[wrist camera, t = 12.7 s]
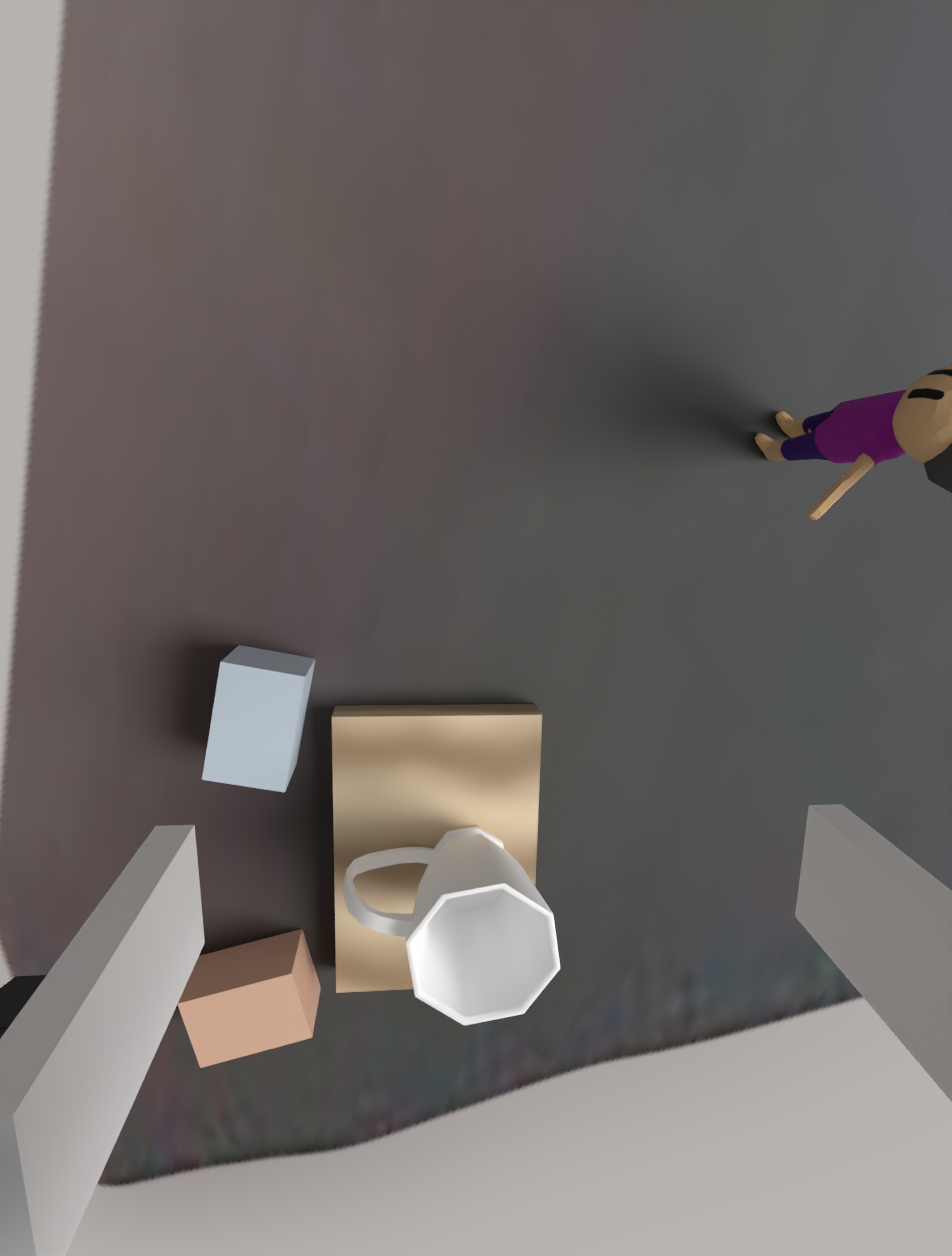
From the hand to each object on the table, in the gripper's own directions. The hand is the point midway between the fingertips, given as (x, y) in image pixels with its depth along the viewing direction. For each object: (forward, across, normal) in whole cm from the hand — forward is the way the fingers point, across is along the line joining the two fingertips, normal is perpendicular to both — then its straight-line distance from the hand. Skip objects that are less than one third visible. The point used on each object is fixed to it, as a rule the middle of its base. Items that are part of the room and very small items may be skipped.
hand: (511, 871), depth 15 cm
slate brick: (+24, -10, -4) cm, 26 cm away
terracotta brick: (+23, -11, -20) cm, 33 cm away
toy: (+25, +18, +9) cm, 32 cm away
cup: (+21, -1, -12) cm, 25 cm away
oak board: (+23, -1, -12) cm, 26 cm away
